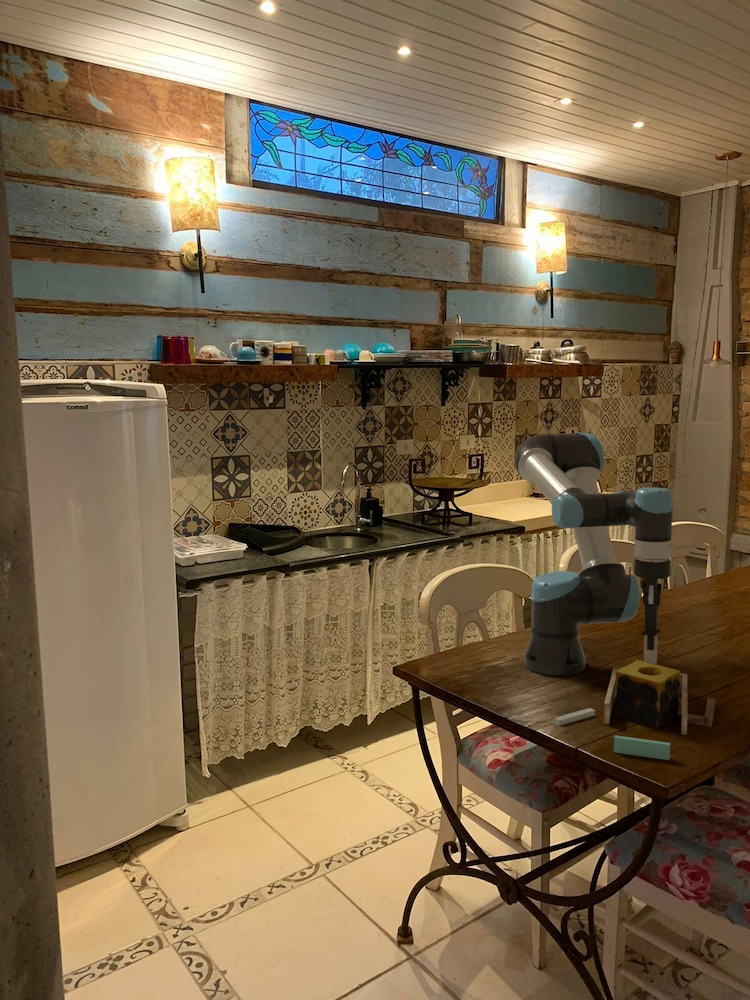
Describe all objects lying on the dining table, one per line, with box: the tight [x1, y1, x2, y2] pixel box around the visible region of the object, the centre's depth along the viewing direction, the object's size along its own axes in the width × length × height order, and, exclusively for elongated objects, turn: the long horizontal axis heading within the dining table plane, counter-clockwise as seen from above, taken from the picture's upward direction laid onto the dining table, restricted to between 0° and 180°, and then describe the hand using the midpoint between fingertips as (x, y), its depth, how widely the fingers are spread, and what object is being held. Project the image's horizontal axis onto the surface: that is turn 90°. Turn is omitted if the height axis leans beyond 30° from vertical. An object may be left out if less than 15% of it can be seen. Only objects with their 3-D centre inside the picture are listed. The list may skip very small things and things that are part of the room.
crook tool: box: [687, 697, 716, 728], centre depth 166 cm, size 5×12×2 cm, turn 153°
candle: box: [613, 659, 681, 729], centre depth 166 cm, size 10×10×10 cm
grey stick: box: [553, 707, 596, 727], centre depth 165 cm, size 2×10×2 cm, turn 118°
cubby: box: [603, 666, 688, 736], centre depth 170 cm, size 16×23×4 cm
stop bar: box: [613, 735, 671, 761], centre depth 148 cm, size 10×1×3 cm, turn 68°
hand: (650, 662), depth 174 cm, fingers closed
